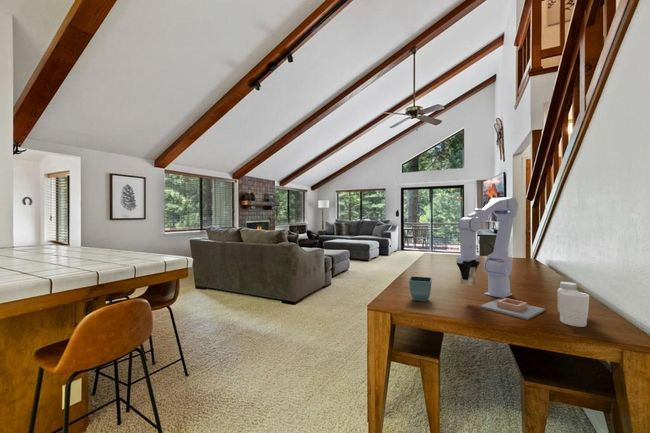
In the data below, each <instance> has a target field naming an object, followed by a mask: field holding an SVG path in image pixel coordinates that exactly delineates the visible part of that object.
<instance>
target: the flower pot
mask: <svg viewBox="0 0 650 433" xmlns="http://www.w3.org/2000/svg"><path fill="white" fill-rule="evenodd" d="M432 280H433V278H432V277H429V276H428V277H427V276H415V275H414V276H412V275H411V276H410V277H409V279H408V284H409V292H410V295H411V297H412V299H413V301H416V302H424V303H425V302H428V300H429V298H430V296H431V291H432V290H431V289H432Z"/></svg>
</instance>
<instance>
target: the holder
mask: <svg viewBox="0 0 650 433" xmlns="http://www.w3.org/2000/svg"><path fill="white" fill-rule="evenodd" d="M480 309H484V310H488V311H490V312H491V311H492V312H496V313H498V314H499V313H500V314H503V315H507V316H511V317H515V318H518V319H522V320H527V321H529V320H531V319H533V318H534V317H536V316H538V315H540V314H542V313H543V312H545V310H546V309H545V308H543V307H539V306H535V305H530V304H528V302H526V301H521V300H517V299H514V298H513V299H512V298H508V297H505V298H497V299H495V300H492V301H489V302H487V303H483V304H481V305H480Z"/></svg>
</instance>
